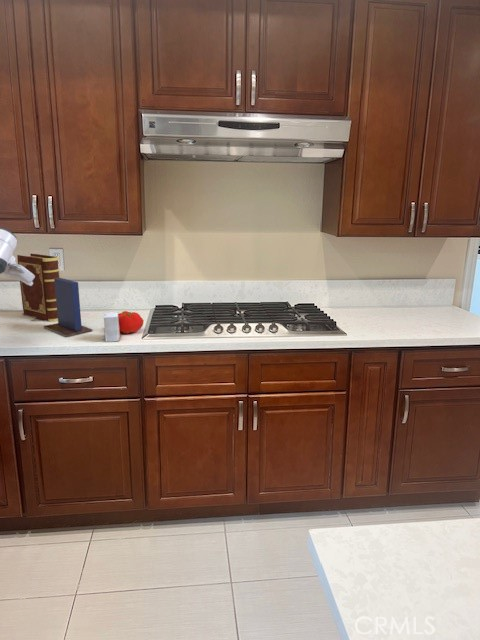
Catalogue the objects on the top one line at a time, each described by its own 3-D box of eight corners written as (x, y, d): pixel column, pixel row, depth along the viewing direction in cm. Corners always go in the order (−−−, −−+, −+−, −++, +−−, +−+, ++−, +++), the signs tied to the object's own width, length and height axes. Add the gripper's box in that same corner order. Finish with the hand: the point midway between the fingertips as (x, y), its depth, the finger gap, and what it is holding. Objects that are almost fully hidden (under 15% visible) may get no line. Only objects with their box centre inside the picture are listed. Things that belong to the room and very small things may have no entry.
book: (75, 331, 201) (71, 283, 195) (58, 324, 210) (54, 278, 205) (81, 329, 203) (78, 282, 197) (64, 323, 212) (60, 277, 207)
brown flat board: (66, 337, 195) (66, 335, 195) (44, 328, 208) (43, 326, 208) (92, 332, 204) (92, 329, 204) (69, 323, 217) (68, 321, 217)
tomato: (146, 333, 202) (145, 314, 200) (117, 336, 198) (116, 317, 195) (140, 326, 214) (140, 308, 211) (113, 329, 209) (111, 310, 207)
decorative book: (66, 319, 224) (60, 256, 216) (52, 322, 218) (45, 258, 210) (37, 312, 236) (31, 253, 228) (23, 315, 229) (16, 254, 221)
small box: (119, 341, 191) (117, 316, 189) (105, 342, 190) (103, 317, 188) (120, 335, 199) (118, 312, 196) (106, 336, 198) (104, 312, 195)
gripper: (20, 258, 175) (48, 281, 185) (-3, 254, 188) (24, 275, 198) (10, 271, 173) (38, 293, 183) (-13, 266, 186) (14, 287, 196)
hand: (30, 284), depth 191 cm, fingers closed
